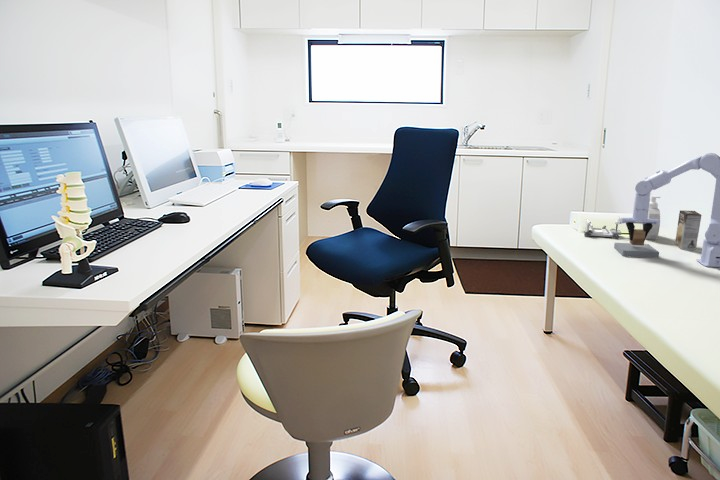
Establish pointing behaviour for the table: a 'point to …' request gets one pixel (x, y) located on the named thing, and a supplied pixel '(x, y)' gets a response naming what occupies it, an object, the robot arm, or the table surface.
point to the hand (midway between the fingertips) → (637, 240)
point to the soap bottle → (653, 214)
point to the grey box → (636, 250)
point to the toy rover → (601, 232)
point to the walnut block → (638, 237)
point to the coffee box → (688, 230)
